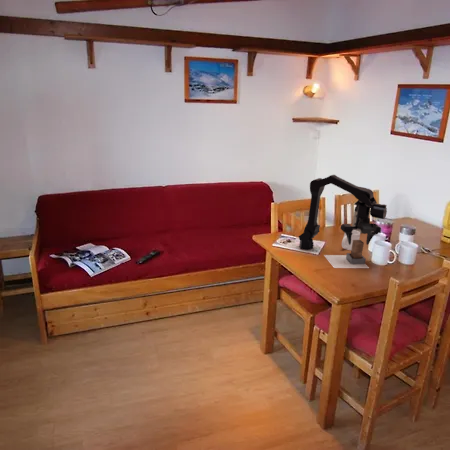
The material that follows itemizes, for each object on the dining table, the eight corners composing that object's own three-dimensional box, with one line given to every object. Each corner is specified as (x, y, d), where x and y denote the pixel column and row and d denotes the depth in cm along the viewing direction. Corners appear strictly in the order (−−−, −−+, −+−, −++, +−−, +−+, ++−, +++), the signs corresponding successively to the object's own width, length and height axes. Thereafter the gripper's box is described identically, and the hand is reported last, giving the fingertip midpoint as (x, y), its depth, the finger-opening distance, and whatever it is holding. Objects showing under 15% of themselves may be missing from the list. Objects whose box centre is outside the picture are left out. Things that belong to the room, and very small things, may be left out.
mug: (346, 254, 218) (349, 236, 214) (334, 249, 224) (337, 232, 221) (360, 250, 224) (363, 232, 221) (348, 245, 231) (350, 228, 227)
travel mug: (366, 233, 252) (370, 205, 247) (353, 232, 252) (357, 205, 247) (362, 229, 260) (366, 202, 254) (349, 228, 260) (354, 201, 254)
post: (352, 263, 204) (356, 242, 201) (349, 259, 208) (353, 239, 205) (360, 263, 205) (363, 242, 201) (357, 259, 209) (360, 239, 205)
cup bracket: (351, 264, 203) (352, 258, 202) (345, 258, 210) (346, 253, 209) (364, 264, 203) (365, 258, 202) (359, 258, 210) (360, 253, 209)
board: (333, 269, 198) (334, 267, 198) (323, 256, 213) (323, 255, 213) (369, 269, 200) (369, 268, 199) (356, 257, 215) (356, 255, 214)
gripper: (350, 219, 190) (346, 250, 195) (388, 220, 192) (383, 250, 197) (342, 212, 201) (338, 242, 205) (378, 213, 202) (373, 242, 207)
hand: (358, 244), depth 203 cm, fingers open, 9 cm apart
